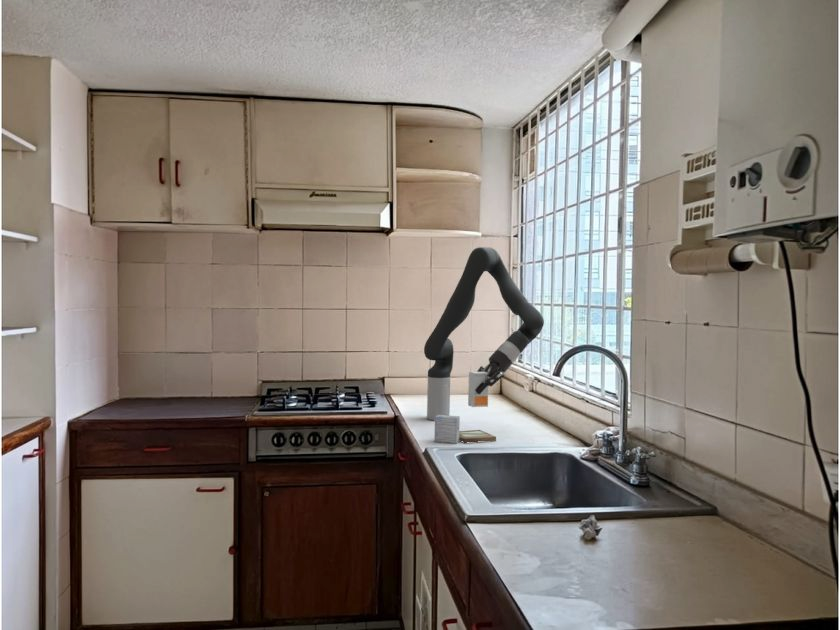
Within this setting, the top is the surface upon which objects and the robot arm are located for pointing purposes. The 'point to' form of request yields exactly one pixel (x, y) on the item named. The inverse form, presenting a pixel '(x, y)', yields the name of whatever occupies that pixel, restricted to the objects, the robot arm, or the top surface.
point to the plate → (475, 436)
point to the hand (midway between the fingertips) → (473, 391)
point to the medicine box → (447, 428)
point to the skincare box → (473, 397)
